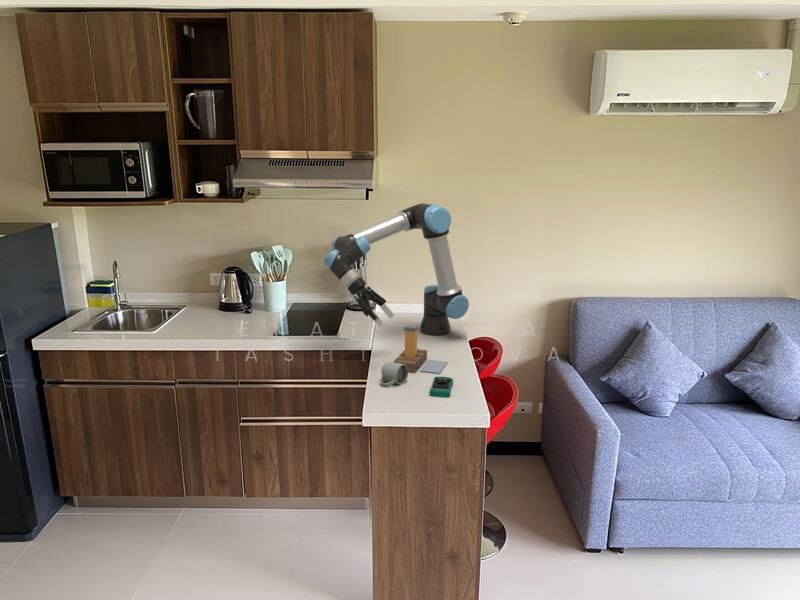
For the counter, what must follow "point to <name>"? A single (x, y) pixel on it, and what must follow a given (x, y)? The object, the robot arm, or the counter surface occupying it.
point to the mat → (434, 366)
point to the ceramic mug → (394, 373)
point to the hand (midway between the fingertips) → (387, 320)
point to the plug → (411, 340)
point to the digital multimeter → (441, 387)
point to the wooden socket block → (412, 360)
